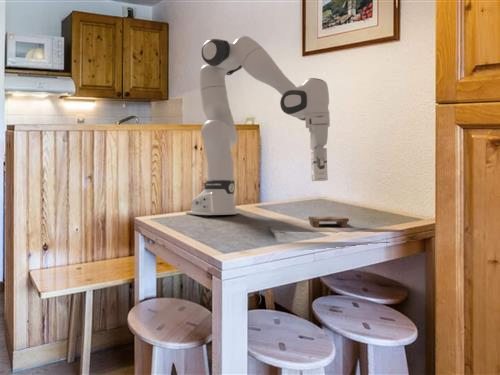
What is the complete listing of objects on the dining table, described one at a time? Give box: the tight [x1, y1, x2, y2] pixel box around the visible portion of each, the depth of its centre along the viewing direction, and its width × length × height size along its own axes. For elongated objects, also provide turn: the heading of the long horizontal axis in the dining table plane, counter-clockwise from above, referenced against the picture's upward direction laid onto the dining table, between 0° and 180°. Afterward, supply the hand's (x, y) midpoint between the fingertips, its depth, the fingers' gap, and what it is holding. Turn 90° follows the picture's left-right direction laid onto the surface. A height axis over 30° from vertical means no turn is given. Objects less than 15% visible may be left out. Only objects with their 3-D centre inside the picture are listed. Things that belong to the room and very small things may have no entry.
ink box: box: [310, 147, 329, 182], centre depth 164 cm, size 9×5×12 cm, turn 179°
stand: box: [308, 216, 350, 228], centre depth 164 cm, size 13×11×3 cm
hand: (318, 159), depth 164 cm, fingers closed on ink box, 8 cm apart
